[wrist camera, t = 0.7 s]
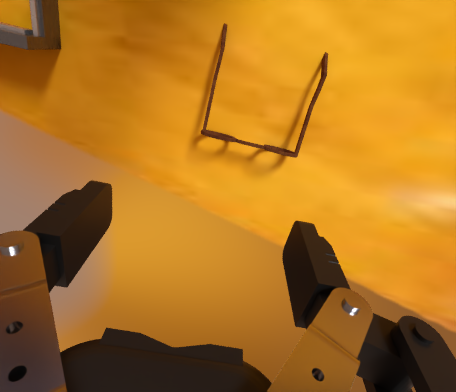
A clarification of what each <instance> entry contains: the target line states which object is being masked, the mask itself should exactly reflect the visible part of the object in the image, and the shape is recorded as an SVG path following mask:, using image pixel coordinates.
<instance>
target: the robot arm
mask: <svg viewBox="0 0 456 392" xmlns="http://www.w3.org/2000/svg"><path fill="white" fill-rule="evenodd" d="M111 220H112V187H111V184H108V183H102V182H98V181H89V182H88V183H87V184H86V185H85V186H84V187H83V188H82V189H81V190H76V189H75V190H73V191H71V192H68V193H66V194H64V195H62V196H61V197H60V198H59V199H58V200H57V201H55V204H52V205H51V206H50V207H49V208H48V210H45V211H44V212H43V213H42V214H41V215H40V216H38V217H37V218H36V219H35V220H34V221H33V222H32V223H30V224H29V225H28V226H27V227H26V228H25V229H24V230H23V231H11V232H7V233H3V234H0V392H350V390H351V387H352V384H353V382H354V379H355V376H356V375H357V376H359V377H362V378H363V382H364V385H365V388H366V391H367V392H413V391H412V389H411V388H412V387H413V386H414V388H415V390H416V392H456V359H455V357H454V356H453V354H452V353H451V351H450V349H449V348H448V346H447V344H446V343H445V341H444V340H443V338H442V337H441V336H440V334H439V333H438V332H437V331H436V330H435V329H434V328H432V327H431V326H430V325H429V324H427V323H426V322H424V321H422V320H420V319H418V318H415V317H412V316H403V317H402V318H401V319H400V320H399V321H398V322H397V323H394V322H392V321H390V320H388V319H385V318H383V317H380V316H378V315H376V314H374V313H373V312H372V309H371V307H370V305H369V304H368V302H367V301H366V300H365V299H364V298H363V297H362V296H361V295H359V294H358V293H356V292H355V291H352V290H351V289H350V287H349V285H348V282H347V280H346V278H345V276H344V273H343V271H342V269H341V266H340V264H338V263H339V262H338V260H337V257H335V253H334V251H333V248H332V246H331V245H330V244H329V243H328V242H327V241H326V239H325V238H324V237H320V236H319V235H318V233H317V230H316V228H315V225H314V224H312V223H307V222H302V221H295V222H294V224H293V227H292V229H291V232H290V234H289V236H288V239H287V241H286V244H285V246H284V250H283V265H284V270H285V275H286V280H287V286H288V291H289V296H290V301H291V306H292V312H293V317H294V322H295V326H296V327H302V328H306V331H305V333H304V335H303V336H302V338H301V339H300V341H299V342H298V344H297V345H296V347H295V349H294V350H293V351H292V353H291V355H290V356H289V358H288V360H287V361H286V362H285V364H284V365H283V367H282V369H281V370H280V372H279V373H278V375H277V377H276V378H275V379H274V381H273V382H272V383H271V382H270V381H269V379H267V377H265V376H264V375H263V374H262V373H261V372H260V371H259V370H257V369H256V368H255V367H253V366H251V365H250V364H248V363H246V362H244V361H243V350H242V349H238V348H231V347H224V346H219V345H212V344H207V345H197V346H187V347H170V346H168V345H166V344H164V343H162V342H159V341H157V340H155V339H153V338H150V337H148V336H146V335H143V334H141V333H136V332H130V331H124V330H118V329H111V328H106V329H105V332H104V334H103V336H102V338H101V339H96V340H92V341H87V342H84V343H80V344H77V345H75V346H72V347H70V348H68V349H66V350H64V351H62V352H60V349H59V344H58V339H57V333H56V328H55V322H54V317H53V312H52V306H51V301H50V296H49V293H50V291H51V290H52V288H53V287H54V286H61V287H68V286H69V284H70V283H71V281H72V280H73V278H74V277H75V275H76V274H77V273H78V271H79V270H80V268H81V267H82V265H83V264H84V262H85V261H86V260H87V258H88V257H89V255H90V254H91V252H92V251H93V250H94V248H95V247H96V245H97V244H98V242H99V241H100V239H101V238H102V237H103V235H104V234H105V232H106V231H107V229H108V228H109V226H110V223H111Z"/></svg>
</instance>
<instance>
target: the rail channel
mask: <svg viewBox="0 0 456 392" xmlns="http://www.w3.org/2000/svg"><path fill="white" fill-rule="evenodd" d="M30 10H31V19H32V28H33V30H31V29H27V28H23V27H19V26H15V25H10V24H6V23H2V22H0V43H2V44H6V45H11V46H15V47H19V48H23V49H27V50H34V49H61V41H60V26H59V12H58V0H30Z"/></svg>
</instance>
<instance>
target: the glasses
mask: <svg viewBox="0 0 456 392" xmlns="http://www.w3.org/2000/svg"><path fill="white" fill-rule="evenodd" d="M226 30H227V24H225V23H224V27H223V33H222V41H221V50H220V55H219V59H218V63H217V67H216V71H215V75H214V78H213V83H212V88H211V93H210V97H209V102H208V107H207V112H206V116H205V121H204V126H203V130H201V134H203V135H206V136H209V137H212V138H216V139H220V140H225V141H230V142H237V143H241V144H244V145H248V146H252V147H256V148H261V149H265V150H268V151H271V152H274V153H277V154H281V155H285V156H290V157H297V156H298V153H299V149H300V146H301V143H302V140H303V137H304V134H305V131H306V128H307V125H308V122H309V119H310V115H311V112H312V109H313V106H314V104H315V102H316V100H317V97H318V95H319V93H320V91H321V88H322V86H323V83H324V81H325V79H326V76H327V61H328V53H326V52H325V54H324V56H323V59H322V69H321V79H320V81H319V84H318V86H317V89H316V92H315V94H314V96H313V98H312V101H311V103H310V105H309V108H308V111H307V114H306V118H305V121H304V124H303V127H302V130H301V133H300V136H299V140H298V143H297V146H296V149H295V152H292V151H290V150H286V149H283V148H279V147H275V146H270V145H264V146H263V145H258V144H254V143H250V142H246V141H242V140H238V139H236V138H235V137H232V136H229V135H226V134H222V133H218V132H214V131H209V130H206V127H207V122H208V117H209V113H210V108H211V103H212V99H213V94H214V89H215V85H216V80H217V76H218V72H219V68H220V64H221V60H222V56H223V52H224V47H225V39H226Z"/></svg>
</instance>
